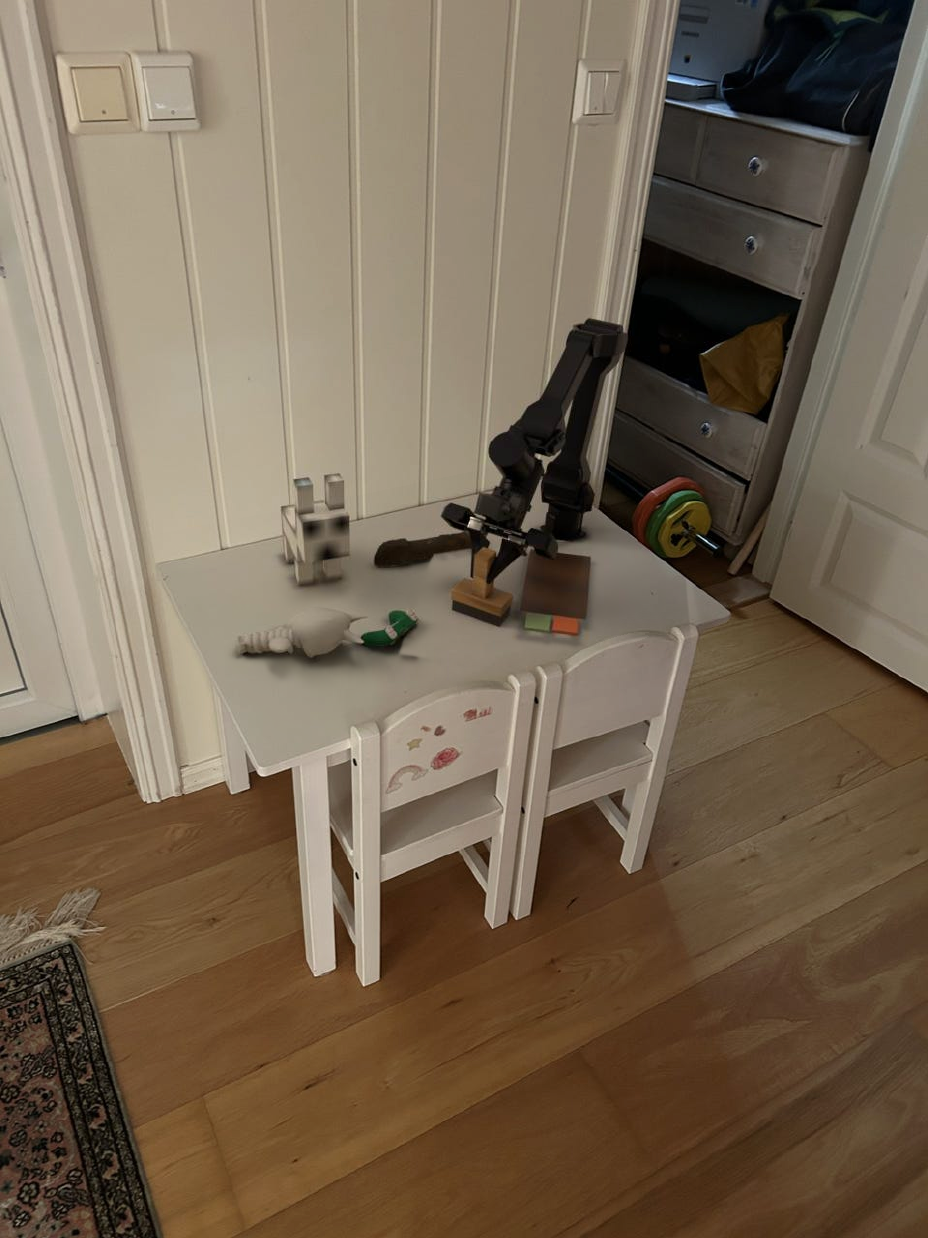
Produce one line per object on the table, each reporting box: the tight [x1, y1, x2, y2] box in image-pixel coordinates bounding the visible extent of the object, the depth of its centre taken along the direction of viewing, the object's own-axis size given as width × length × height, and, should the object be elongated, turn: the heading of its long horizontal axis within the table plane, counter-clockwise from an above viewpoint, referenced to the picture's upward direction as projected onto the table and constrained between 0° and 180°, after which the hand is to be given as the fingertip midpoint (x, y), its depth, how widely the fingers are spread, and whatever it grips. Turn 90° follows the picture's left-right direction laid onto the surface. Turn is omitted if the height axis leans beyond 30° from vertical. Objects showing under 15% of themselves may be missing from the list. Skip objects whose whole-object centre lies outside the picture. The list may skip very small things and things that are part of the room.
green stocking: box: [360, 608, 419, 647], centre depth 145 cm, size 9×4×6 cm
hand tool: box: [373, 531, 471, 567], centre depth 165 cm, size 19×4×5 cm, turn 111°
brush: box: [450, 547, 514, 628], centre depth 148 cm, size 4×9×12 cm, turn 61°
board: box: [518, 548, 592, 621], centre depth 160 cm, size 20×11×2 cm, turn 171°
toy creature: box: [236, 607, 370, 659], centre depth 140 cm, size 13×7×20 cm
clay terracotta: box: [551, 616, 580, 637], centre depth 149 cm, size 4×4×2 cm
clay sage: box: [523, 612, 552, 634], centre depth 149 cm, size 4×4×2 cm
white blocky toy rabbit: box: [280, 472, 351, 587], centre depth 155 cm, size 8×18×20 cm, turn 23°
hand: (479, 580), depth 146 cm, fingers closed on brush, 2 cm apart
